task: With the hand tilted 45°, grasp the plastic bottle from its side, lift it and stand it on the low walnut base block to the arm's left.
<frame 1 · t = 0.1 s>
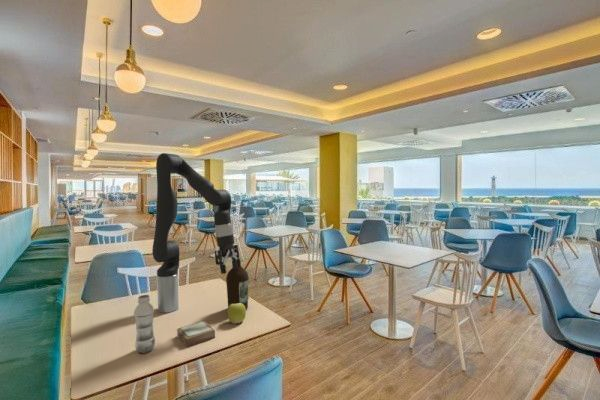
hand: (229, 270, 136), 22 cm above the table, tool pointing down, fingers open, 8 cm apart
plastic bottle: (145, 350, 113), on the table
walnut base: (196, 336, 123), on the table
apple: (236, 321, 136), on the table
olive oil: (238, 309, 150), on the table
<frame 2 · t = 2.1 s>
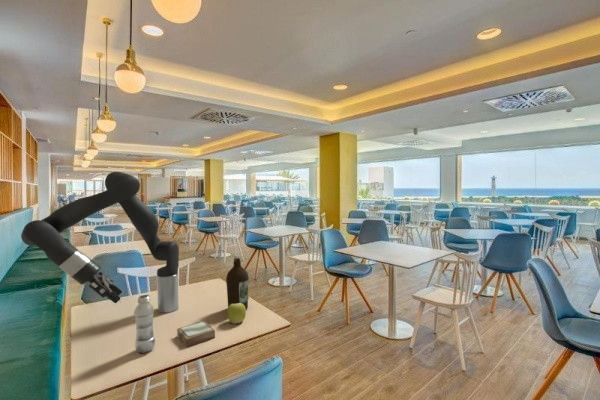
hand: (119, 297, 108), 21 cm above the table, tool tilted 40°, fingers open, 8 cm apart
nothing on the table moved.
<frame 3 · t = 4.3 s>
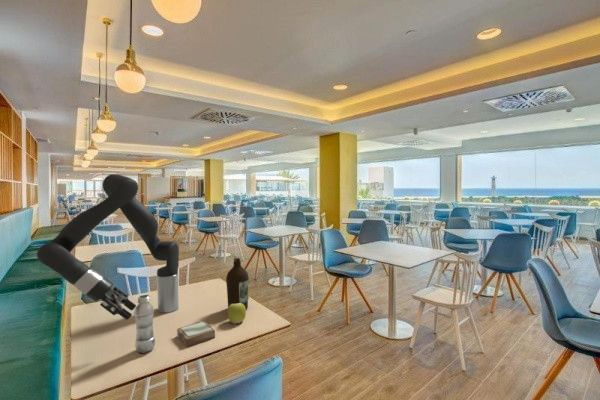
hand: (132, 312, 111), 15 cm above the table, tool tilted 45°, fingers open, 8 cm apart
nothing on the table moved.
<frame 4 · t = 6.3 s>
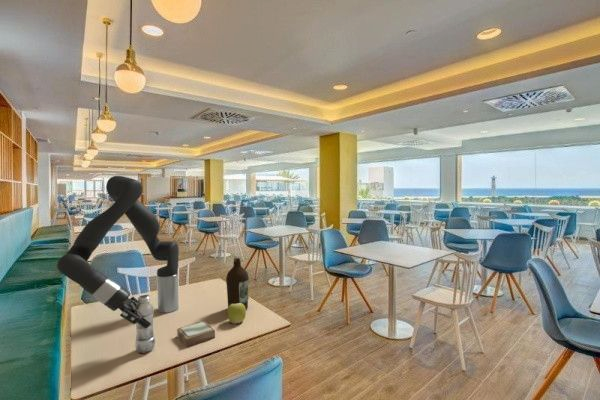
hand: (149, 322, 113), 10 cm above the table, tool tilted 45°, fingers closed on plastic bottle, 6 cm apart
plastic bottle: (145, 350, 113), on the table, touching gripper
everything else where it was.
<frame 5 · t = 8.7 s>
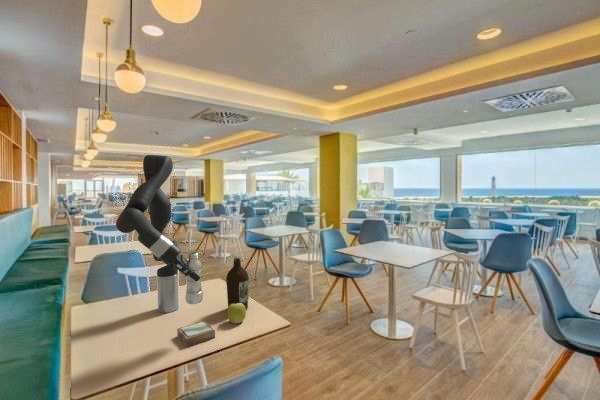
hand: (198, 277, 122), 24 cm above the table, tool tilted 45°, fingers closed on plastic bottle, 6 cm apart
plastic bottle: (194, 303, 122), point 13 cm above the table, touching gripper
everything else where it was.
when the fingers open (14 cm above the table, at t = 11.1 s): plastic bottle stays where it is, resting on walnut base.
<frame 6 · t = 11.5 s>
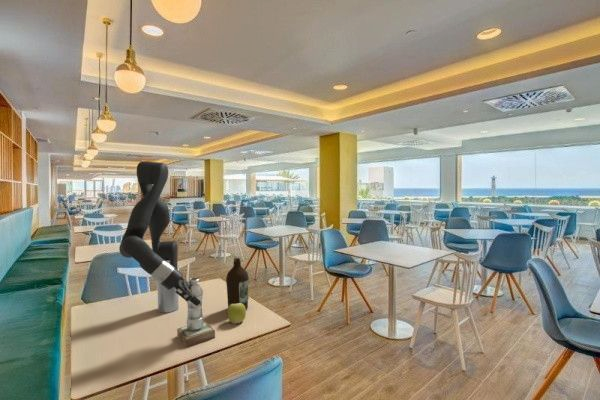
hand: (198, 300, 122), 15 cm above the table, tool tilted 45°, fingers open, 8 cm apart
plastic bottle: (195, 329, 123), point 3 cm above the table, touching walnut base
everything else where it was.
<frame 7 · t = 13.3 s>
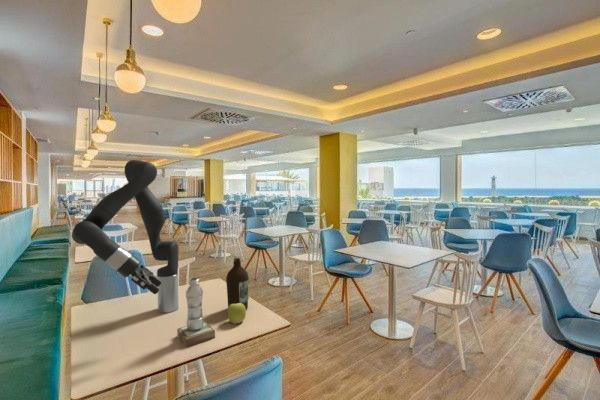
hand: (158, 288, 118), 21 cm above the table, tool tilted 45°, fingers open, 8 cm apart
nothing on the table moved.
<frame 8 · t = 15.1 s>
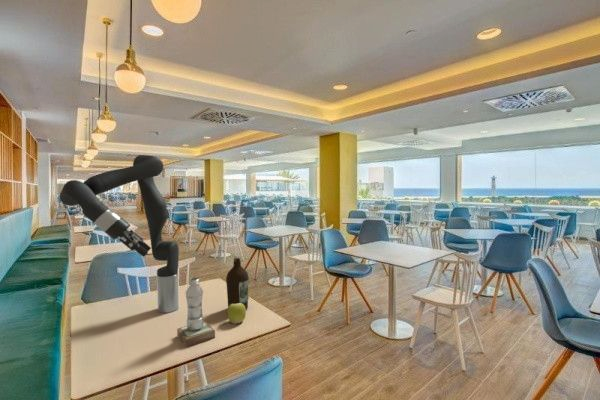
hand: (147, 252, 118), 35 cm above the table, tool tilted 45°, fingers open, 8 cm apart
nothing on the table moved.
at the end: plastic bottle inside the target area on the walnut base (0.3 cm from its centre), point 3.1 cm above the walnut base's base; plastic bottle tilted 0°; the gripper is holding nothing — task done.
